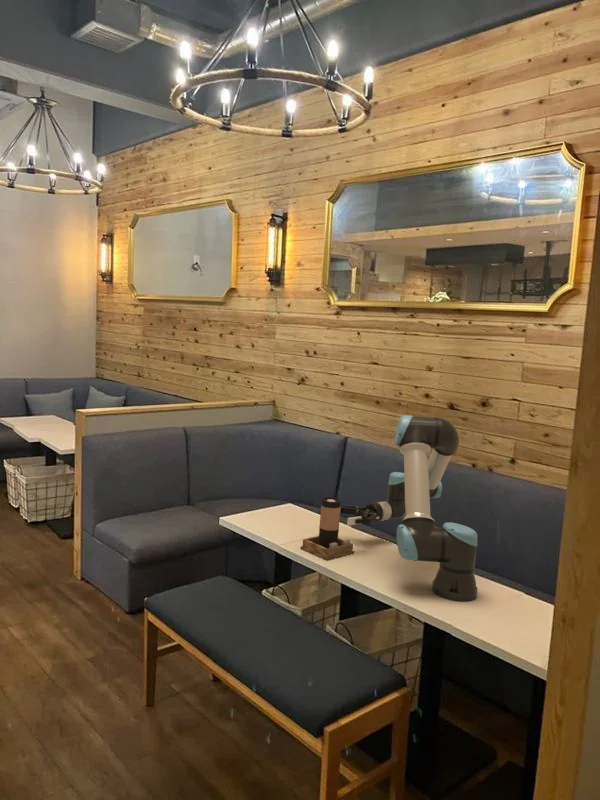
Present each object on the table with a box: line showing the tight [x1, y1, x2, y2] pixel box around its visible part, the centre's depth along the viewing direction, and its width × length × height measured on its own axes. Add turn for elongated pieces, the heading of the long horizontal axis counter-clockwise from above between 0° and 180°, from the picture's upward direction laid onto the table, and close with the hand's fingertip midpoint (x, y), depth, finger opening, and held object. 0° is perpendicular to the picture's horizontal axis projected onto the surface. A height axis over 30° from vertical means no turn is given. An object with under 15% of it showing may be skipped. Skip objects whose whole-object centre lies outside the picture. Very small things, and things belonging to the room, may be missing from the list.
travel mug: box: [318, 496, 341, 549], centre depth 247 cm, size 8×8×20 cm
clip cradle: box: [300, 535, 355, 562], centre depth 247 cm, size 15×15×6 cm
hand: (337, 516), depth 249 cm, fingers open, 13 cm apart
